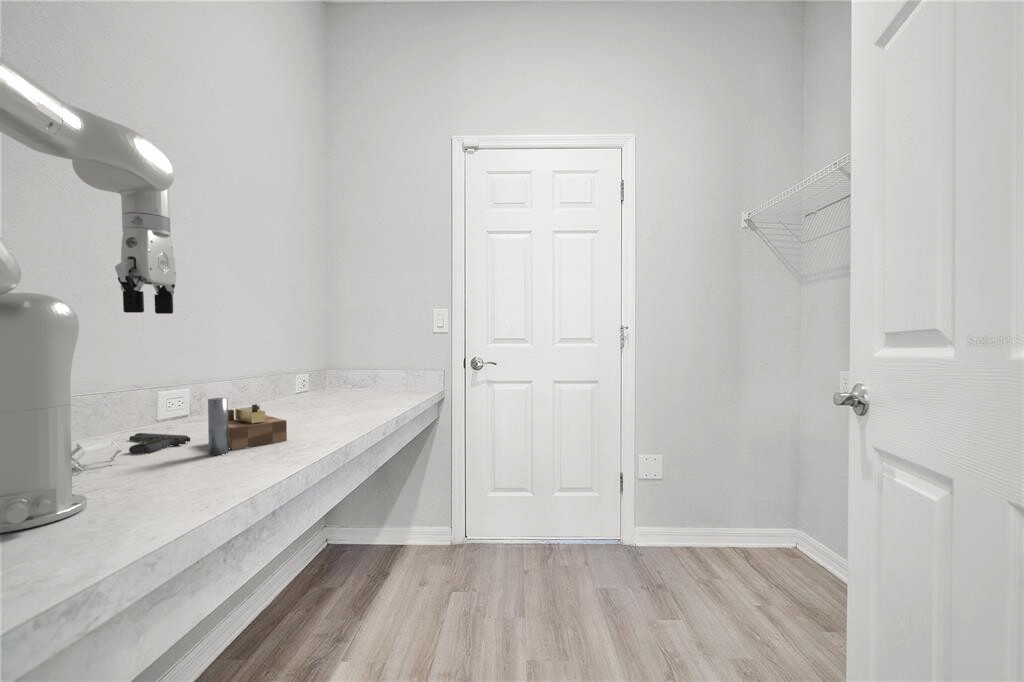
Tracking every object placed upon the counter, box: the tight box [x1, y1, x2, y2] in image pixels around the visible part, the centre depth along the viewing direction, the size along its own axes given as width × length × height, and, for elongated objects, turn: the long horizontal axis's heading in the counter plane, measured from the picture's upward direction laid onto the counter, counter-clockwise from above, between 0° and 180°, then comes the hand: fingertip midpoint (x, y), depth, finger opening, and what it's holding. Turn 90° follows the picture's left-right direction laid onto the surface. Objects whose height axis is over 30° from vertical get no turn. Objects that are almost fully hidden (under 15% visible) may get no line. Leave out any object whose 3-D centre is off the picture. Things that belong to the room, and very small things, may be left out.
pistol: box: [128, 432, 191, 454], centre depth 109 cm, size 2×19×12 cm
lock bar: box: [234, 403, 266, 423], centre depth 111 cm, size 10×3×4 cm, turn 50°
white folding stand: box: [71, 437, 123, 476], centre depth 90 cm, size 12×8×5 cm
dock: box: [228, 406, 288, 451], centre depth 112 cm, size 12×12×8 cm
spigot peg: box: [207, 397, 229, 456], centre depth 100 cm, size 4×4×12 cm
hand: (149, 313), depth 92 cm, fingers open, 9 cm apart
